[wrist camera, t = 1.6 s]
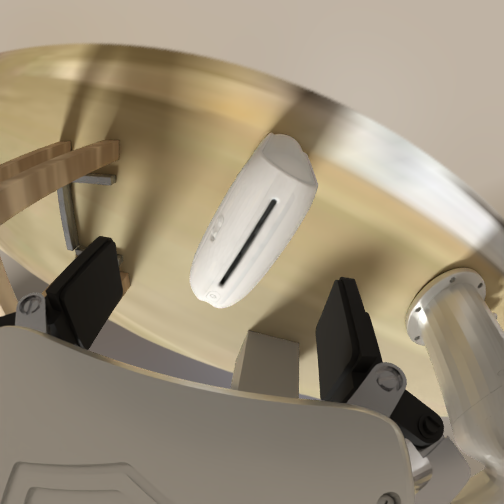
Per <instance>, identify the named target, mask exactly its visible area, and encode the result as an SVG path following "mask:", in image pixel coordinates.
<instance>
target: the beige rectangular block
mask: <svg viewBox="0 0 504 504" xmlns="http://www.w3.org/2000/svg"><path fill="white" fill-rule="evenodd" d="M230 389H232V390H238V391H244V392H250V393H257V394H265V395H273V396H281V397H289V398H299V343H296V342H292V341H287V340H283V339H279V338H276V337H272V336H268V335H264V334H260V333H257V332H253V331H248V333H247V335H246V338H245V340H244V343H243V345H242V347H241V350H240V352H239V354H238V357H237V359H236V363H235V368H234V373H233V378H232V383H231V388H230Z"/></svg>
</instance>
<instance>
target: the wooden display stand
mask: <svg viewBox="0 0 504 504" xmlns="http://www.w3.org/2000/svg"><path fill="white" fill-rule="evenodd" d="M117 160H119V140H103V141H100V142H97V143H94V144H91V145H88V146H85V147H82V148H79V149H76V150H73V151H71V141H64V142H57V143H54V144H51V145H48V146H46V147H43V148H40V149H37V150H35V151H32V152H29V153H27V154H24V155H22V156H19V157H17V158H15V159H12V160H10V161H8V162H5V163H3V164H1V165H0V225H2V224H3V223H5V222H6V221H7V220H9V219H10V218H12V217H13V216H15V215H16V214H18V213H19V212H21V211H23V210H24V209H26V208H27V207H29V206H30V205H32V204H34V203H35V202H37V201H39V200H40V199H42V198H44V197H45V196H47V195H49V194H51V193H52V192H54V191H56V190H58V189H60V188H61V187H63V186H65V185H67V184H69V183H71V182H73V181H75V180H77V179H79V178H81V177H83V176H85V175H87V174H89V173H91V172H93V171H95V170H97V169H99V168H101V167H103V166H106V165H108V164H110V163H112V162H114V161H117ZM120 276H121V281H122V287H123V295H122V297H123V296H124V294H125V293H126V291H127V290H128V289H129V287H130V281H129V275H128V273H124V272H120ZM52 283H53V282H52ZM52 283H51V284H52ZM51 284H50V285H51ZM50 285H49V286H50ZM46 289H47V288H46ZM42 295H43V296H44V298H45V297H46V295H47V294H46V291H44V292H43V293H42ZM120 300H121V299H120ZM118 303H119V302H118ZM17 304H18V301H17V299H16V297H15V294H14V292H13V289H12V287H11V285H10V282H9V279H8V277H7V274H6V271H5V269H4V266H3V263H2V260H1V257H0V317H1V316H4V315H7V314H10V313H13V312H16V308H17Z"/></svg>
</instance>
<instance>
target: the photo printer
mask: <svg viewBox="0 0 504 504" xmlns="http://www.w3.org/2000/svg"><path fill="white" fill-rule="evenodd" d="M317 188H318V183H317V180H316V177H315V174H314V171H313V168H312V165H311V163H310V160H309V158H308V155H307V154H306V153H305V152H303V151H302V148H301V146H300V145H299V143H298V142H297V141H296V140H295V139H294V138H292V137H290V136H288V135H284V134H276V135H275V134H273V133H269V134H268V135H267V136H266V137H265V138H264V139H263V140H262V142H261V143H260V144H259V146H258V147H257V149H256V150H255V151H254V153H253V155H252V156H251V158H250V159H249V160H248V162H247V163H246V164H245V166H244V167H243V168H242V170H241V171H240V173H239V174H238V175H237V177H236V179H235V181H234V182H233V184H232V185H231V187H230V189H229V190H228V192H227V194H226V195H225V197H224V199H223V200H222V202H221V204H220V206H219V207H218V209H217V211H216V213H215V215H214V217H213V218H212V220H211V222H210V224H209V226H208V228H207V230H206V232H205V234H204V236H203V238H202V240H201V242H200V244H199V246H198V248H197V251H196V253H195V256H194V259H193V262H192V266H191V270H190V285H191V288H192V290H193V292H194V294H195V295H196V297H197V298H198V299H200V300H202V301H206V302H208V303H210V304H211V305H213V306H214V307H216V308H226V307H229V306H231V305H233V304H235V303H237V302H238V301H240V300H241V299H242V298H244V297H245V296H246V295H247V294H248V293H249V292H250V291H251V290H252V289H253V288H254V287H255V286H256V285H257V284H258V282H259V281H260V280H261V279H262V278H263V277H264V275H265V274H266V273H267V272H268V270H269V269H270V268H271V266H272V265H273V264H274V262H275V261H276V260H277V258H278V257H279V256H280V254H281V253H282V251H283V250H284V249H285V247H286V246H287V244H288V243H289V241H290V240H291V238H292V237H293V235H294V234H295V232H296V231H297V229H298V227H299V226H300V224H301V222H302V221H303V219H304V217H305V216H306V214H307V212H308V210H309V208H310V206H311V204H312V202H313V199H314V197H315V194H316V191H317Z"/></svg>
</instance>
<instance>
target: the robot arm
mask: <svg viewBox="0 0 504 504" xmlns="http://www.w3.org/2000/svg"><path fill="white" fill-rule="evenodd" d="M45 291H46V294H47V295H46V297H45V298H44V296H43V295H42V294H40V293H31V294H28V295H26V296H24V297H23V298H22V299H21V300H20V301H19V302H18V304H17V308H16V312H13V313H10V314H7V315H4V316H1V317H0V504H504V331H503V329H502V328H501V326H500V324H499V323H498V321H497V314H496V313H493V312H491V310H490V309H489V307H488V306H487V304H486V303H485V296H486V286H485V282H484V280H483V279H482V277H481V276H480V275H479V274H478V273H477V272H476V271H475V270H473V269H470V268H457V269H452V270H450V271H447V272H445V273H443V274H441V275H439V276H438V277H436V278H435V279H433V280H432V281H431V282H429V283H428V284H427V285H426V286H425V287H424V288H423V289H422V290H421V291H420V292H419V294H418V295H417V296H416V297H415V299H414V300H413V302H412V304H411V305H410V307H409V310H408V312H407V315H406V320H405V325H406V330H407V333H408V335H409V337H410V339H411V340H412V341H413V342H415V343H416V344H419V345H423V346H425V347H426V349H427V352H428V354H429V357H430V360H431V363H432V365H433V368H434V371H435V374H436V377H437V380H438V383H439V386H440V389H441V392H442V395H443V399H444V402H445V406H446V409H447V413H448V416H449V420H450V424H451V428H452V432H453V436H454V440H455V442H456V444H457V446H458V447H459V449H460V450H461V451H462V452H463V453H465V454H466V455H468V456H470V457H472V458H474V459H476V460H478V461H479V462H481V463H483V464H484V465H485V468H484V470H482V471H480V472H479V473H477V474H475V475H474V476H472V477H470V474H471V470H470V467H469V465H468V463H467V461H466V460H465V459H464V457H463V456H462V454H461V453H460V452H459V450H458V449H457V447H456V446H455V445H454V443H453V442H452V441H451V440H450V438H449V437H448V436H446V437H444V435H443V431H444V425H443V421H442V419H441V418H440V416H439V415H438V414H437V413H435V412H434V411H433V410H432V409H430V408H429V407H428V406H426V405H425V404H424V403H422V402H421V401H420V400H418V399H417V398H416V397H415V396H413V395H412V394H411V393H409V392H408V391H407V390H405V388H406V385H407V381H406V377H405V374H404V373H403V371H402V370H401V369H400V368H399V367H397V366H396V365H394V364H392V363H387V362H384V363H383V362H382V358H381V354H380V350H379V347H378V343H377V339H376V336H375V333H374V329H373V326H372V322H371V319H370V316H369V314H368V313H367V312H365V310H364V306H363V303H362V300H361V297H360V294H359V291H358V287H357V284H356V281H355V279H352V278H345V277H340V279H339V280H335V281H334V284H333V286H332V289H331V292H330V294H329V297H328V300H327V302H326V305H325V307H324V310H323V312H322V315H321V317H320V320H319V322H318V324H317V327H316V342H317V354H318V367H319V382H320V398H321V400H325V401H321V400H310V399H299V398H289V397H281V396H273V395H265V394H257V393H250V392H244V391H238V390H232V389H226V388H221V387H215V386H211V385H205V384H201V383H196V382H192V381H187V380H183V379H179V378H175V377H171V376H167V375H163V374H159V373H156V372H152V371H149V370H145V369H142V368H139V367H135V366H132V365H129V364H126V363H123V362H120V361H117V360H114V359H111V358H108V357H105V356H102V355H100V354H97V353H94V352H91V351H89V350H88V349H89V348H90V346H91V345H92V343H93V341H94V340H95V338H96V337H97V335H98V333H99V332H100V330H101V329H102V327H103V325H104V324H105V322H106V320H107V319H108V318H109V316H110V314H111V313H112V311H113V310H114V308H115V307H116V305H117V304H118V302H119V301H120V299H121V298H122V295H123V287H122V281H121V276H120V270H119V264H118V258H117V251H116V245H115V242H113V240H112V239H111V238H108V237H103V236H99V237H97V238H96V239H95V240H94V241H93V242H92V243H91V244H90V245H89V246H88V247H87V248H86V249H85V250H84V251H83V252H82V253H81V254H80V255H79V256H78V257H77V258H76V259H75V260H74V261H73V262H72V263H71V264H70V265H69V266H68V267H67V268H66V269H65V270H64V271H63V272H62V273H61V274H60V275H59V276H58V277H57V278H56V279H55V280H54V281H53V283H52V284H51V285H50V286H49V287H48V288H47V289H46V290H45Z"/></svg>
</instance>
